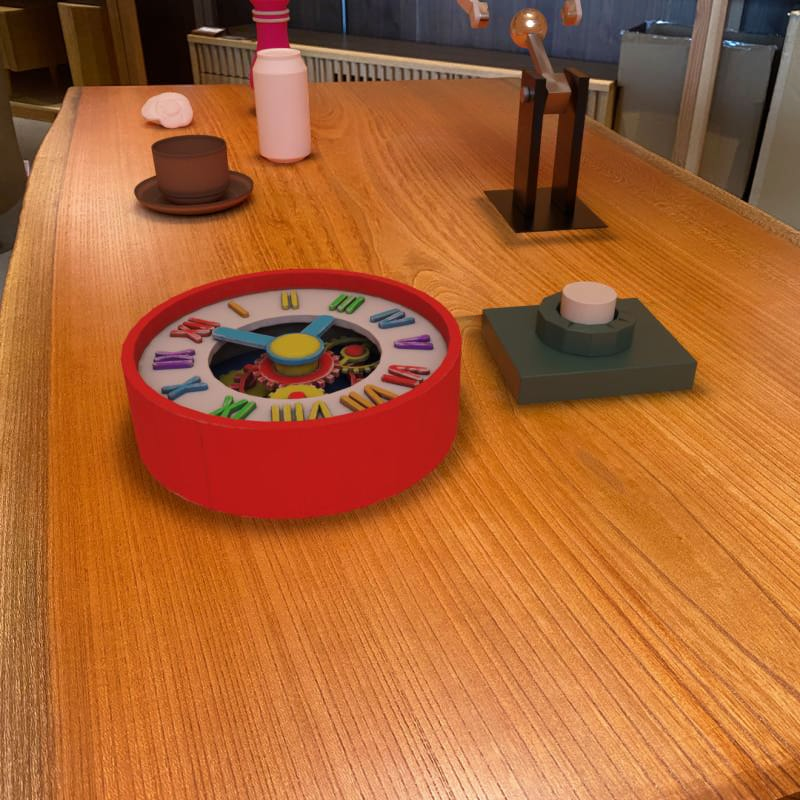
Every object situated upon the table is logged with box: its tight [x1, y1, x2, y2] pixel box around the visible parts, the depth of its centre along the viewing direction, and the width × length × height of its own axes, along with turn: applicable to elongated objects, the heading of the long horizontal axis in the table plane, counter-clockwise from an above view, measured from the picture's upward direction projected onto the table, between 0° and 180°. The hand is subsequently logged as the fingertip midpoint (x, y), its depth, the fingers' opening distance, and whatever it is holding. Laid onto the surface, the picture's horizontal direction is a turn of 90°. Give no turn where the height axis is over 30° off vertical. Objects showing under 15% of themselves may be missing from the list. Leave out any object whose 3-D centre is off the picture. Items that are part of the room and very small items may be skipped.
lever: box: [509, 7, 572, 116], centre depth 80 cm, size 13×4×4 cm, turn 9°
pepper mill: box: [249, 0, 292, 91], centre depth 115 cm, size 7×7×20 cm
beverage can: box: [252, 48, 312, 164], centre depth 98 cm, size 6×6×12 cm
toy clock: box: [120, 267, 463, 520], centre depth 52 cm, size 20×6×20 cm
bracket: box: [483, 67, 609, 234], centre depth 80 cm, size 12×9×14 cm
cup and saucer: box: [133, 134, 254, 216], centre depth 85 cm, size 12×12×6 cm
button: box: [560, 280, 618, 325], centre depth 57 cm, size 4×4×2 cm
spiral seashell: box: [139, 91, 194, 130], centre depth 113 cm, size 7×5×4 cm
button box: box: [480, 290, 699, 406], centre depth 58 cm, size 12×10×4 cm
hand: (527, 23), depth 83 cm, fingers open, 8 cm apart
